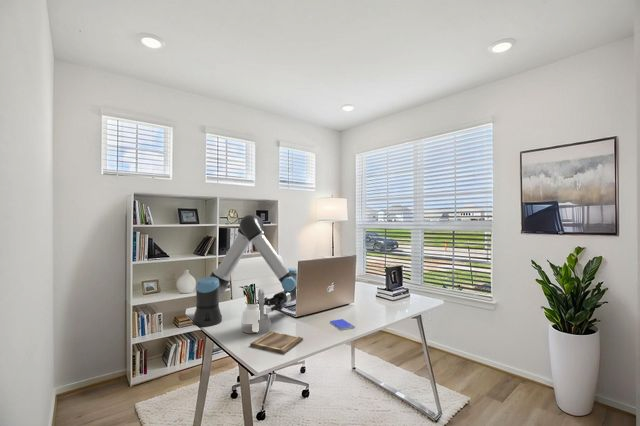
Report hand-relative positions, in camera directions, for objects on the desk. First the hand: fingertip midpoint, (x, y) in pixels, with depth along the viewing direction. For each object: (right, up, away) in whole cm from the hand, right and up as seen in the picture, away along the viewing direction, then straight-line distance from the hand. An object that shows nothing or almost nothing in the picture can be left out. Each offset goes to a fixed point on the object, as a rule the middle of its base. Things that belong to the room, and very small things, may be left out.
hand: (257, 309), depth 155 cm
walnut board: (+12, -11, -15) cm, 22 cm away
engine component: (+1, -11, +3) cm, 12 cm away
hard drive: (+43, -12, +9) cm, 46 cm away
